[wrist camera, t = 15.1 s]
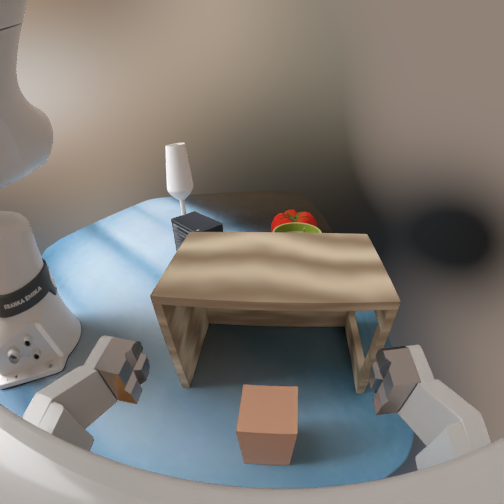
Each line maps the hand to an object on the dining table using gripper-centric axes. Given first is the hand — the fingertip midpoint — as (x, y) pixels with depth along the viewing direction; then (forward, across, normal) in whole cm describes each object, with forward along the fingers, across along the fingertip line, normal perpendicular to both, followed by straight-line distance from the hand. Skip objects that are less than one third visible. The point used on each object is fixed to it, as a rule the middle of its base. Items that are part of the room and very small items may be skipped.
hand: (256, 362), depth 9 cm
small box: (+45, +15, +24) cm, 54 cm away
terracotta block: (+7, 0, +25) cm, 26 cm away
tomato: (+55, -5, +24) cm, 60 cm away
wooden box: (+21, -1, +24) cm, 32 cm away
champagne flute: (+60, +23, +24) cm, 69 cm away
